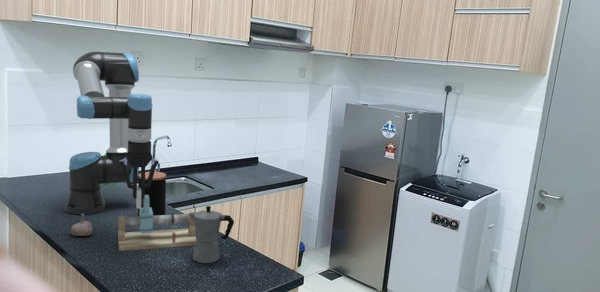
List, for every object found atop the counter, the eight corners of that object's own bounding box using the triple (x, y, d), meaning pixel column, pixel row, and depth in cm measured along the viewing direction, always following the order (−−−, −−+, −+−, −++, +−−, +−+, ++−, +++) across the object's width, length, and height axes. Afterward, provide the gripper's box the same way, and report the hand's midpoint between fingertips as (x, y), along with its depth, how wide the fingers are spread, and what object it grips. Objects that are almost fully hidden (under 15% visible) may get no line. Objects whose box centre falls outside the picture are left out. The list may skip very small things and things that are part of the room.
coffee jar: (135, 214, 193) (136, 171, 189) (162, 212, 198) (163, 170, 194) (139, 223, 183) (140, 178, 180) (167, 220, 188) (168, 177, 185)
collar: (139, 226, 168) (139, 194, 166) (150, 225, 169) (151, 193, 167) (140, 233, 162) (141, 200, 159) (152, 233, 163) (153, 199, 161)
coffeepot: (182, 260, 154) (183, 208, 150) (192, 249, 163) (194, 199, 159) (227, 266, 152) (230, 213, 148) (235, 255, 161) (238, 205, 158)
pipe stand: (118, 236, 169) (118, 211, 167) (191, 231, 179) (192, 207, 177) (118, 251, 157) (119, 223, 155) (197, 245, 167) (198, 219, 165)
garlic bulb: (96, 236, 168) (96, 215, 166) (74, 240, 163) (74, 218, 162) (89, 229, 174) (89, 209, 172) (67, 233, 169) (67, 212, 167)
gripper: (119, 142, 153) (118, 211, 157) (160, 142, 158) (159, 209, 162) (118, 138, 160) (118, 204, 164) (158, 138, 165) (157, 203, 169)
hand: (138, 207), depth 163 cm, fingers closed
